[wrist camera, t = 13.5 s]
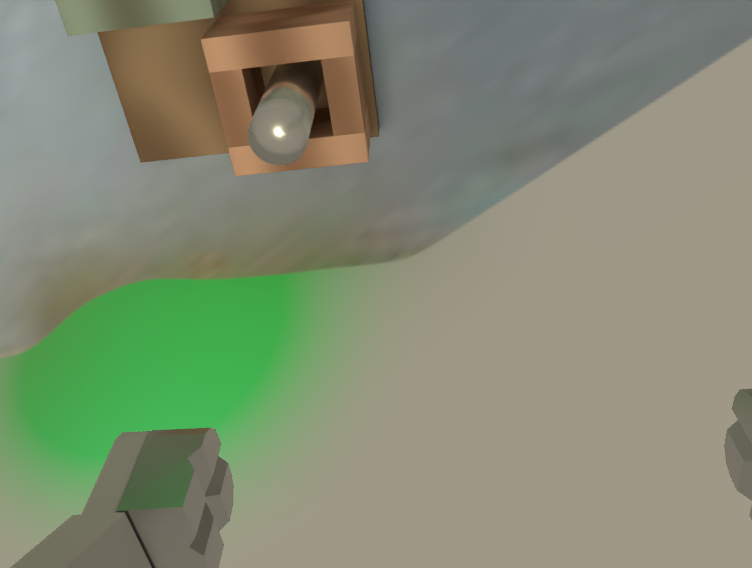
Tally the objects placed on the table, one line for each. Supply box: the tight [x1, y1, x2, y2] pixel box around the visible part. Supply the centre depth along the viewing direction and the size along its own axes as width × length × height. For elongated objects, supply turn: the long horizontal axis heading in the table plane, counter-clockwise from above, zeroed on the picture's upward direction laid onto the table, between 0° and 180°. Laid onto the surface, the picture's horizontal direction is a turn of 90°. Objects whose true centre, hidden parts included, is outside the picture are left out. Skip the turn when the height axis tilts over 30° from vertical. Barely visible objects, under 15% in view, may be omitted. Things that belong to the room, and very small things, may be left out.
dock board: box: [55, 0, 379, 176], centre depth 40 cm, size 16×18×6 cm
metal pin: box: [247, 60, 323, 165], centre depth 39 cm, size 3×3×10 cm
